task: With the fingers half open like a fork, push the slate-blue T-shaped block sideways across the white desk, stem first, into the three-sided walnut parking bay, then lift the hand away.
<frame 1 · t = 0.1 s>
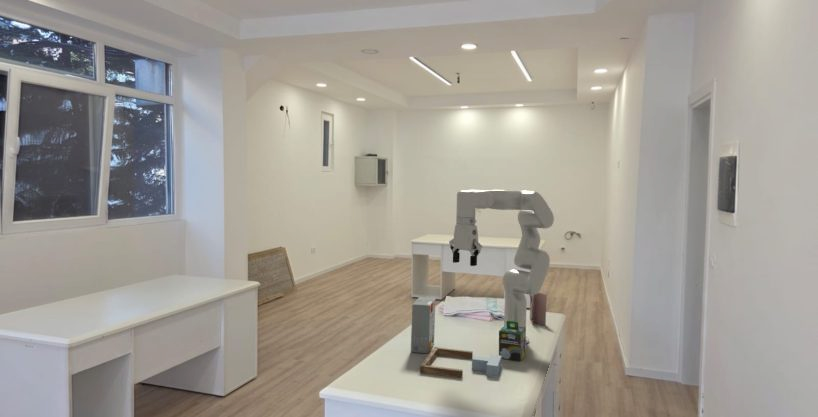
hand: (464, 264, 212), 37 cm above the table, tool pointing down, fingers open, 9 cm apart
tee block: (493, 370, 198), on the table
greeting card: (536, 323, 265), on the table
hard drive box: (422, 348, 223), on the table
walnut bay: (449, 365, 203), on the table
chalk box: (512, 357, 214), on the table
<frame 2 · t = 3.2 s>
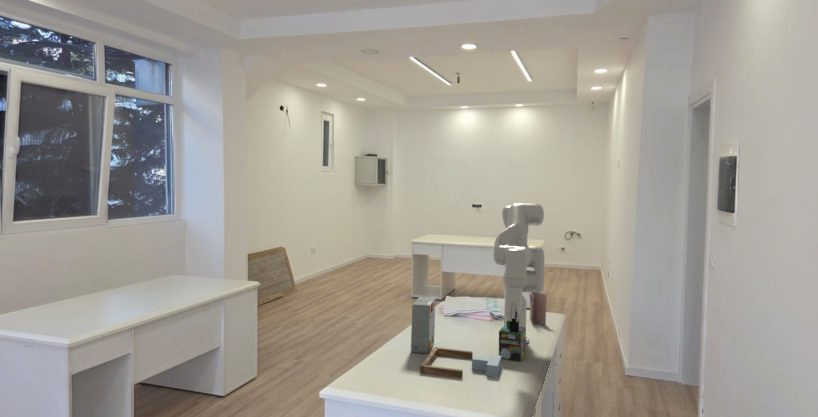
hand: (514, 331, 194), 16 cm above the table, tool pointing down, fingers closed
nothing on the table moved.
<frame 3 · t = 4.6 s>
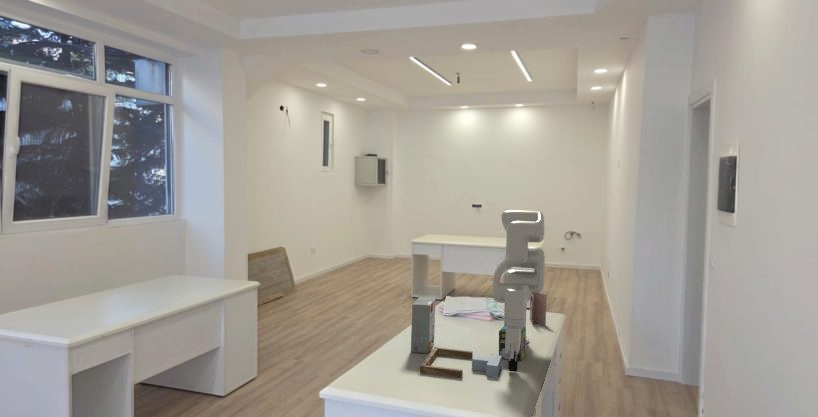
hand: (512, 370, 196), 1 cm above the table, tool pointing down, fingers closed
nothing on the table moved.
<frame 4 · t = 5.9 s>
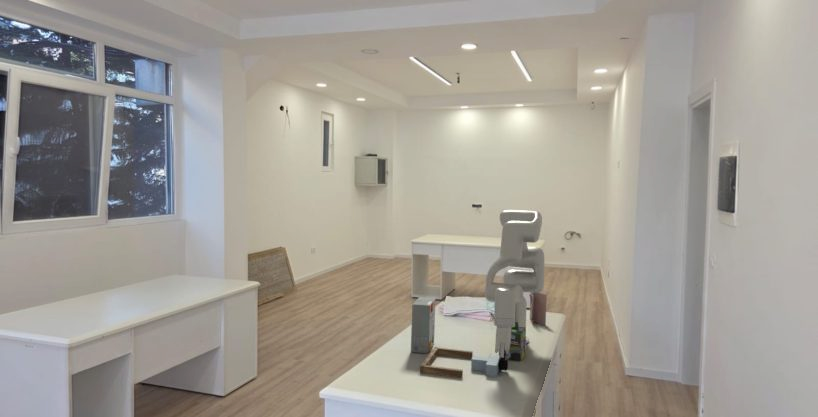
hand: (503, 369, 197), 1 cm above the table, tool pointing down, fingers closed
tee block: (493, 370, 198), on the table, touching gripper
everything else where it was.
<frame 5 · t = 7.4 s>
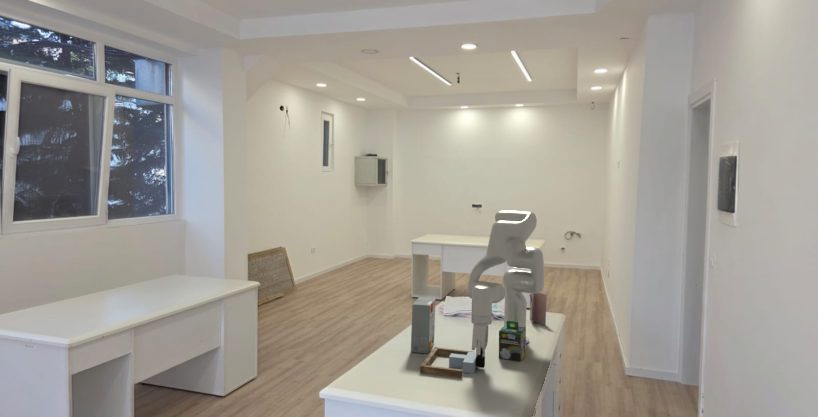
hand: (480, 366, 199), 1 cm above the table, tool pointing down, fingers closed
tee block: (470, 367, 200), on the table, touching gripper
everything else where it was.
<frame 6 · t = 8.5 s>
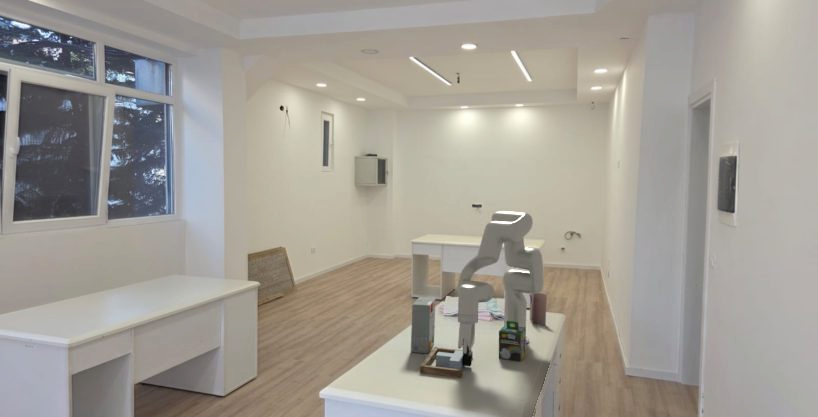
hand: (466, 365, 201), 1 cm above the table, tool pointing down, fingers closed
tee block: (457, 366, 202), on the table, touching gripper
everything else where it was.
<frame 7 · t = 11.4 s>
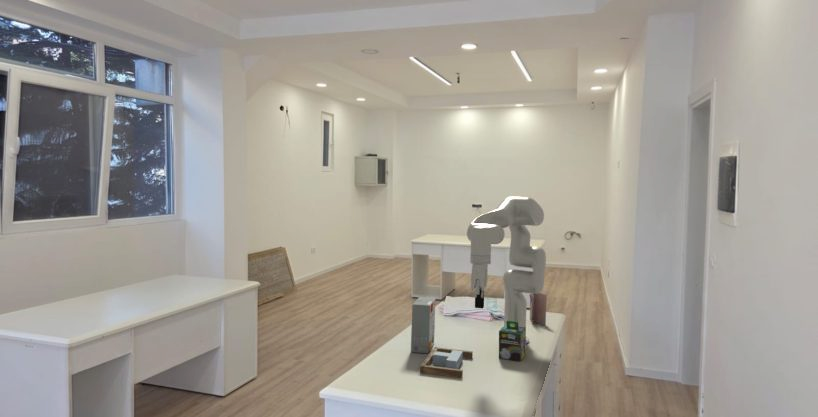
hand: (479, 307, 198), 23 cm above the table, tool pointing down, fingers closed
tee block: (454, 365, 202), on the table
everything else where it was.
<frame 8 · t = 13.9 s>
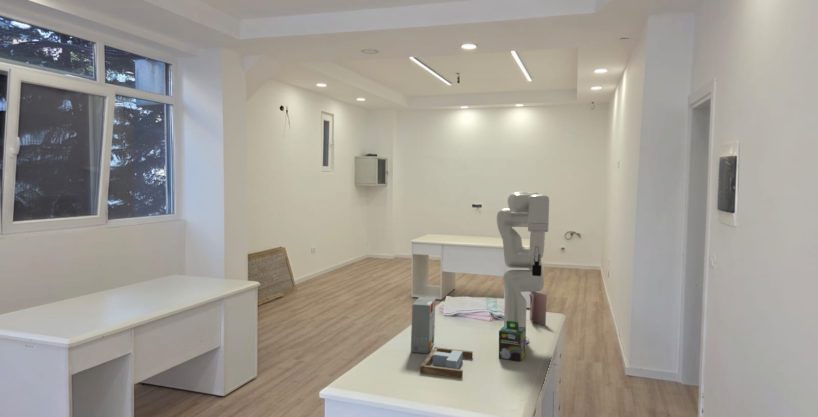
hand: (536, 275, 201), 35 cm above the table, tool pointing down, fingers closed
nothing on the table moved.
at the end: tee block inside the target area on the walnut bay (2.9 cm from its centre), point 0.0 cm above the walnut bay's base; tee block moved 15.1 cm from its start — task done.
